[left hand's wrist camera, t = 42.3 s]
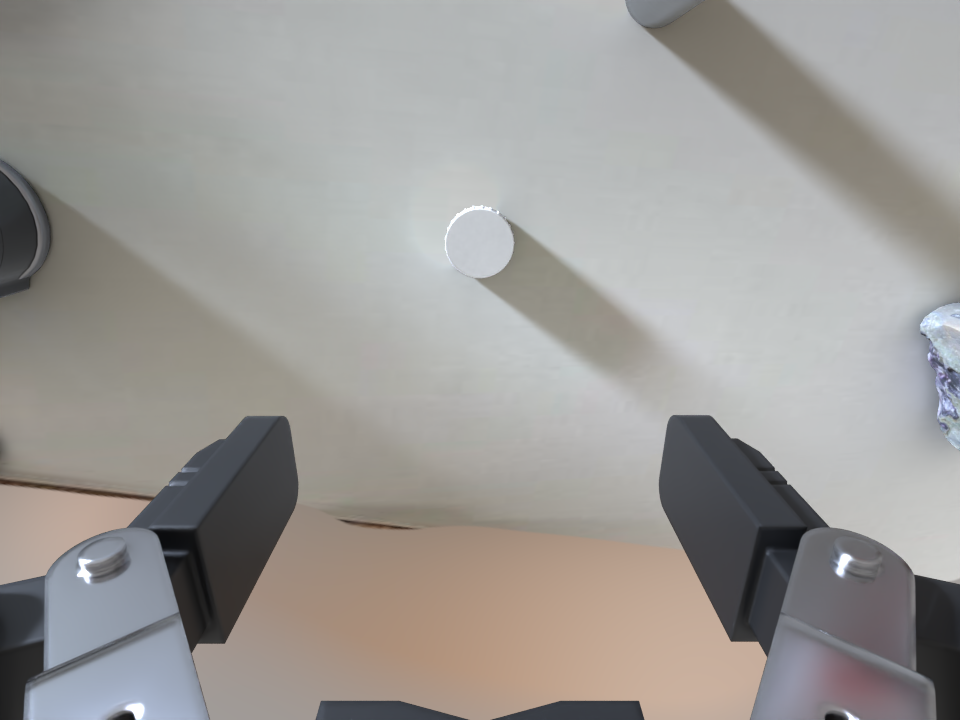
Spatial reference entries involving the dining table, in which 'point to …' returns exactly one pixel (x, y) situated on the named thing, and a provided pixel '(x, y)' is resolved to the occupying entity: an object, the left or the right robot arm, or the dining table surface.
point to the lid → (479, 242)
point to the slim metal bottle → (659, 11)
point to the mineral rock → (946, 365)
